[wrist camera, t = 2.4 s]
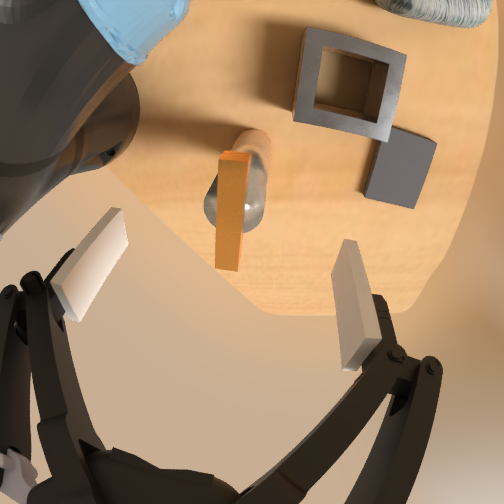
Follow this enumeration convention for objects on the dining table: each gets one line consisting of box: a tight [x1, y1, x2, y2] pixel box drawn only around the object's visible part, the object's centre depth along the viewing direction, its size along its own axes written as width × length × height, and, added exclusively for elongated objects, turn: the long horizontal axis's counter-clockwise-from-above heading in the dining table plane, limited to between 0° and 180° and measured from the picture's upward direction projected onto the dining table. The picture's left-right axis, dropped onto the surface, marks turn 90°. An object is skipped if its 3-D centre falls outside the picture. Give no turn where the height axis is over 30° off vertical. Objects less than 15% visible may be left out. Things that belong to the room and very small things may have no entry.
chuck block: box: [292, 27, 407, 142], centre depth 21 cm, size 9×9×5 cm
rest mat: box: [363, 127, 437, 209], centre depth 28 cm, size 7×9×1 cm
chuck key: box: [204, 129, 272, 272], centre depth 23 cm, size 4×8×16 cm, turn 174°
